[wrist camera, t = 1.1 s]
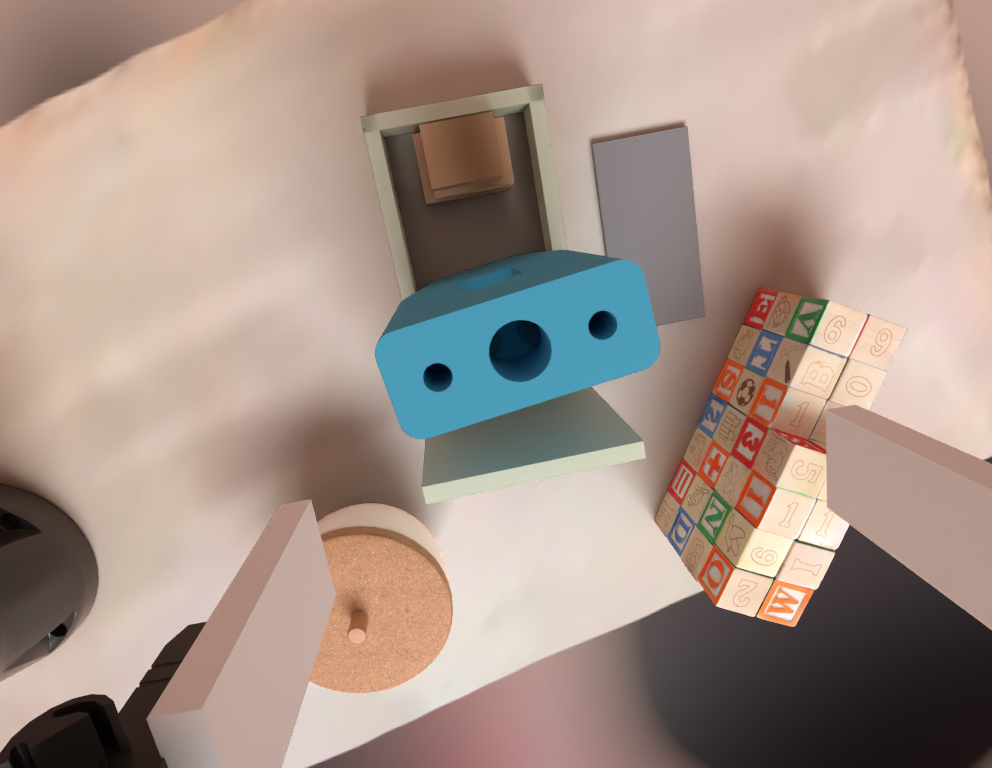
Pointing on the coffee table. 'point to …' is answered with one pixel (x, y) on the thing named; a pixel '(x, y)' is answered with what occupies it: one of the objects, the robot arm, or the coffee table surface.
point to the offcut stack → (463, 157)
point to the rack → (534, 429)
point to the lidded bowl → (381, 599)
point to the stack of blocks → (773, 453)
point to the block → (514, 337)
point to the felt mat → (653, 217)
